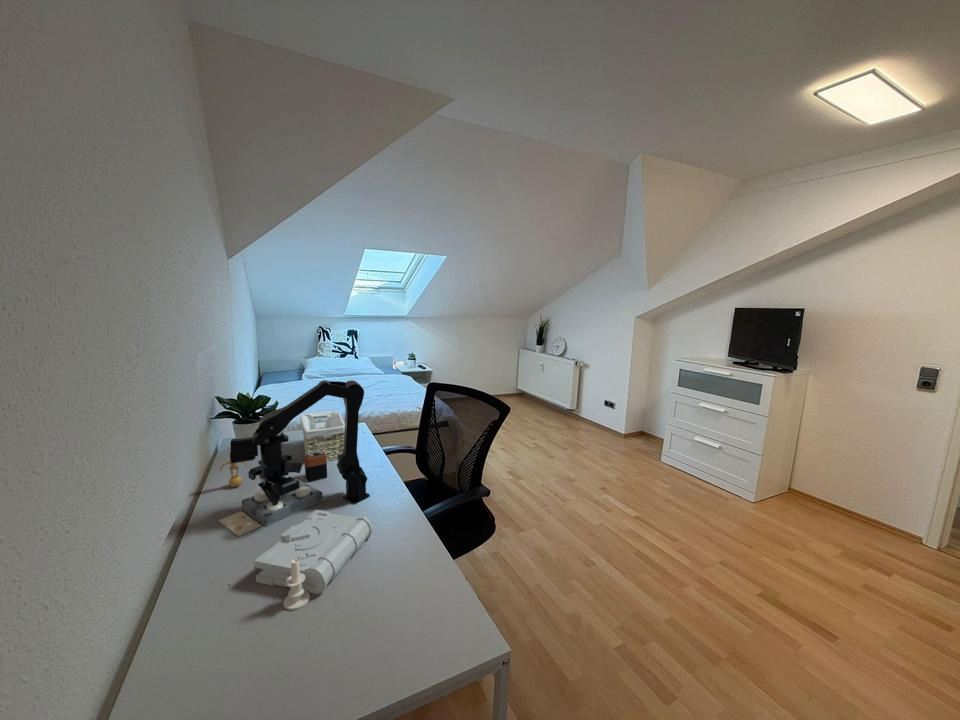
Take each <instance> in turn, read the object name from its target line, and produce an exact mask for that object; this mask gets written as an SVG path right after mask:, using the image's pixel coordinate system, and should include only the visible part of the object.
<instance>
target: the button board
mask: <svg viewBox="0 0 960 720" xmlns="http://www.w3.org/2000/svg"><path fill="white" fill-rule="evenodd" d="M296 480H298V481H299V484H300V487H303V486H308V487H310V496H307V497H305V498H303V499H298V498H296V497H295V490H294V491H292V492H289V493H287V494H284V495H282V496H280V498H279V501H281V502H283V507H282V508H280V509H278V510H275V511H273V512H270V511H268V510H267V505H268V504H269V503H271V502H270V500H267V501H265V502H263V503H256V502H255V500H254V495H252V496H250V497H246V498H244V499H242V500H241V508H242V510H243V511H244V512H246V513H247V514H248V515H250V516H251V517H253V518H254V519H255V520H257V521H258V522H260V523H261V524H263V525H264V526H266V527H269V526H270V525H274V524H275V523H277V522H279V521H282V520H284V519H286V518H288V517H290V516H292V515H294V514H296V513H299V512H300V511H303V510H306V509H307V508H310V507H312V506H314V505H316V504H319V503H321V502H322V501H323V499H324V498H323V492H322V491H320V490H319V489H317V488H315V487H313V486H311V485H309V484H307V483H305V482H304V481H302V480H299V479H298V478H297V479H296Z"/></svg>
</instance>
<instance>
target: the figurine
mask: <svg viewBox="0 0 960 720" xmlns="http://www.w3.org/2000/svg"><path fill="white" fill-rule="evenodd" d="M241 463H243V464H244V465H245V466H246V467H249V465H248V464H247V463H246V461H245V462H240V464H241ZM237 464H238V463H232V464H231V461H230V459H229V460H228V461H226V462H224V463H222V464H221V466H220V468H219V471H222V468H223V467H225V465H230V466H229V467H228V468H229V471H230V474H231V477H230V478H229V480H228V485H229V486H230V487H232V488H237V487H240V486H241V485H242V483H243V477H242V476H240V475H239V470H240V468H239V465H237ZM234 470H235V471H236V472H235V473H236V475H234V472H233V471H234Z"/></svg>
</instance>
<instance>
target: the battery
mask: <svg viewBox="0 0 960 720" xmlns="http://www.w3.org/2000/svg"><path fill="white" fill-rule="evenodd" d="M303 458H304V474H305V479H306V481H307V482H308V483H310V482H315V481H318V480H323V479H326V478H327V477H328V461H327V457H326V454H325V453H324V452H323V451H322V450H319V451H317V452H316V453H308V454H307V455H306V454H305V455H304V457H303Z"/></svg>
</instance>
